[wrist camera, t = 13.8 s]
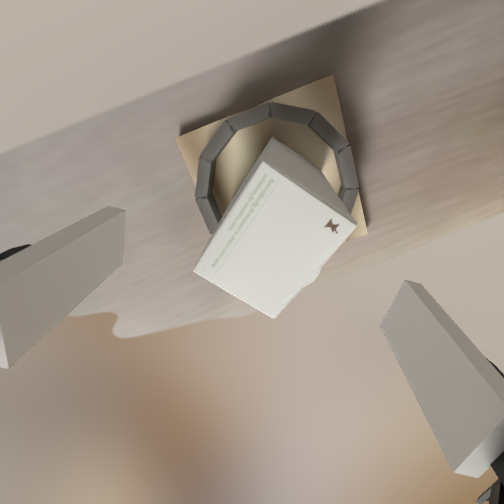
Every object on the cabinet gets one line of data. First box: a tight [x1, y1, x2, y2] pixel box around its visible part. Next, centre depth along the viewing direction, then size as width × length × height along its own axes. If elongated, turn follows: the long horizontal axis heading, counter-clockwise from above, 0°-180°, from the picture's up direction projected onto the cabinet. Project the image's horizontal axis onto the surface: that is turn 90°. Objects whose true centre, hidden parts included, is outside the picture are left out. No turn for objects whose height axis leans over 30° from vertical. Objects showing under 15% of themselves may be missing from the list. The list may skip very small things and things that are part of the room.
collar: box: [175, 74, 368, 241], centre depth 30 cm, size 16×16×4 cm
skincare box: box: [193, 136, 358, 319], centre depth 23 cm, size 8×7×16 cm
